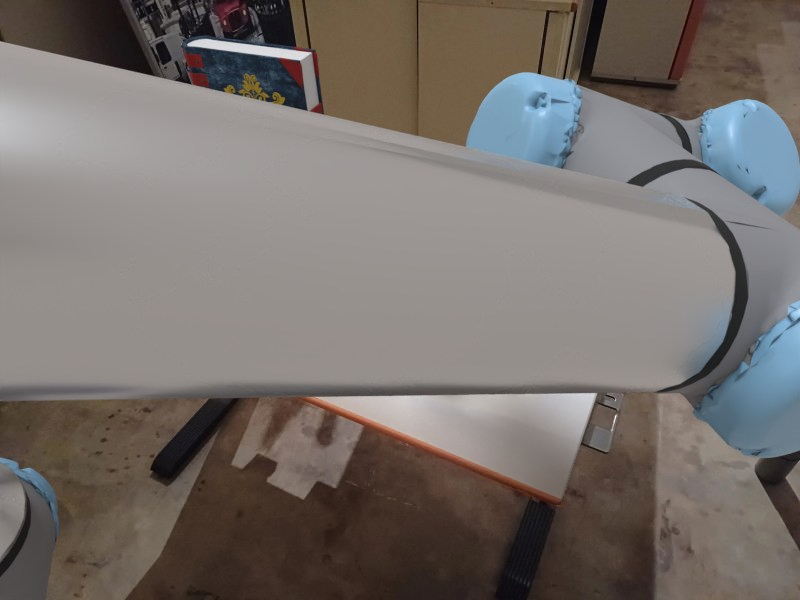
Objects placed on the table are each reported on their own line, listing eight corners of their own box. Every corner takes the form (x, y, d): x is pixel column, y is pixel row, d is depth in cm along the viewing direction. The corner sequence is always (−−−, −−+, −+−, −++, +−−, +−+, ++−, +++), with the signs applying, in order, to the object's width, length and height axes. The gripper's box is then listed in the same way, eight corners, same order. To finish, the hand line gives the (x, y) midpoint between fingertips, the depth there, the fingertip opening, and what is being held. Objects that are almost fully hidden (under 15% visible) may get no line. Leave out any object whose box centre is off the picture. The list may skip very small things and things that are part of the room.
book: (210, 171, 113) (172, 45, 96) (230, 155, 118) (197, 32, 101) (318, 194, 106) (297, 62, 88) (334, 176, 110) (318, 47, 93)
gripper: (529, 321, 41) (391, 348, 61) (654, 224, 49) (496, 276, 70) (481, 233, 40) (357, 290, 61) (616, 149, 49) (468, 224, 69)
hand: (432, 282), depth 65 cm, fingers closed on pill bottle, 5 cm apart
